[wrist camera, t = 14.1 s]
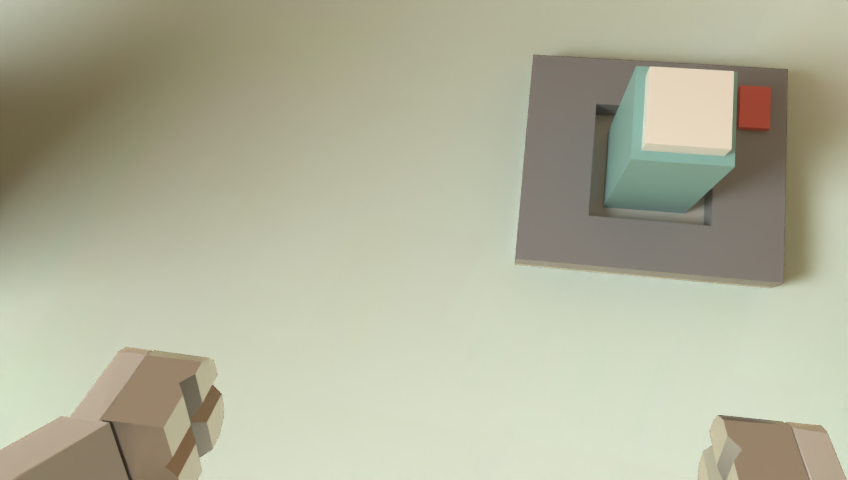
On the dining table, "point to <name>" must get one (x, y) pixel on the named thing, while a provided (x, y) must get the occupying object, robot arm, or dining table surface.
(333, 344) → the dining table surface
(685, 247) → the socket plate
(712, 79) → the plug
